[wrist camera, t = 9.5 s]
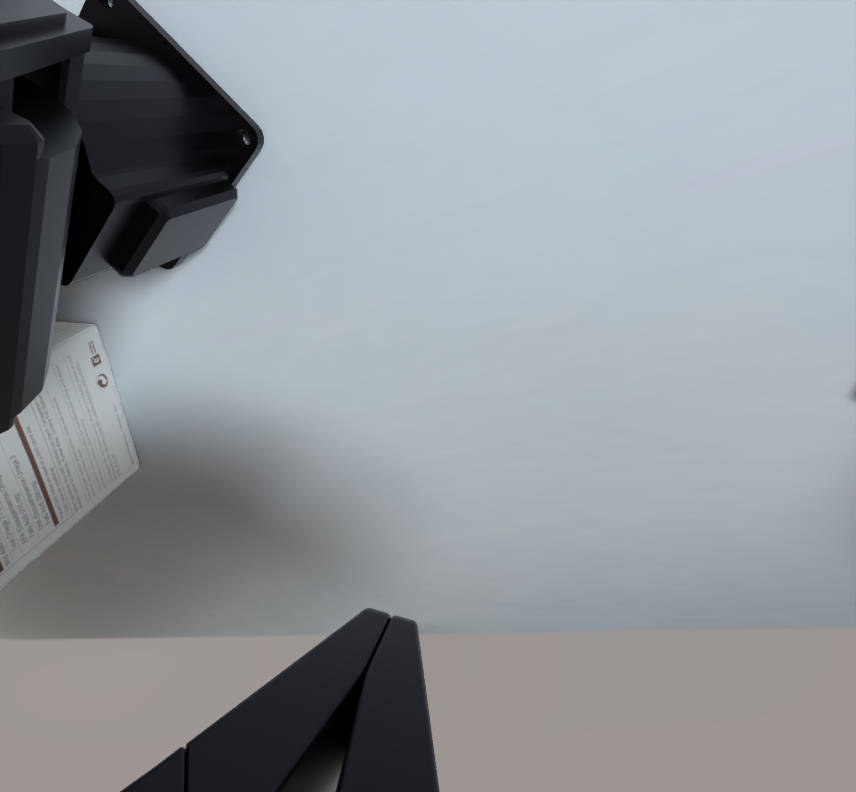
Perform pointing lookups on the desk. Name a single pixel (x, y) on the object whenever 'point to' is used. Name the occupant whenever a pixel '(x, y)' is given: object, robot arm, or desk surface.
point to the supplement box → (62, 450)
